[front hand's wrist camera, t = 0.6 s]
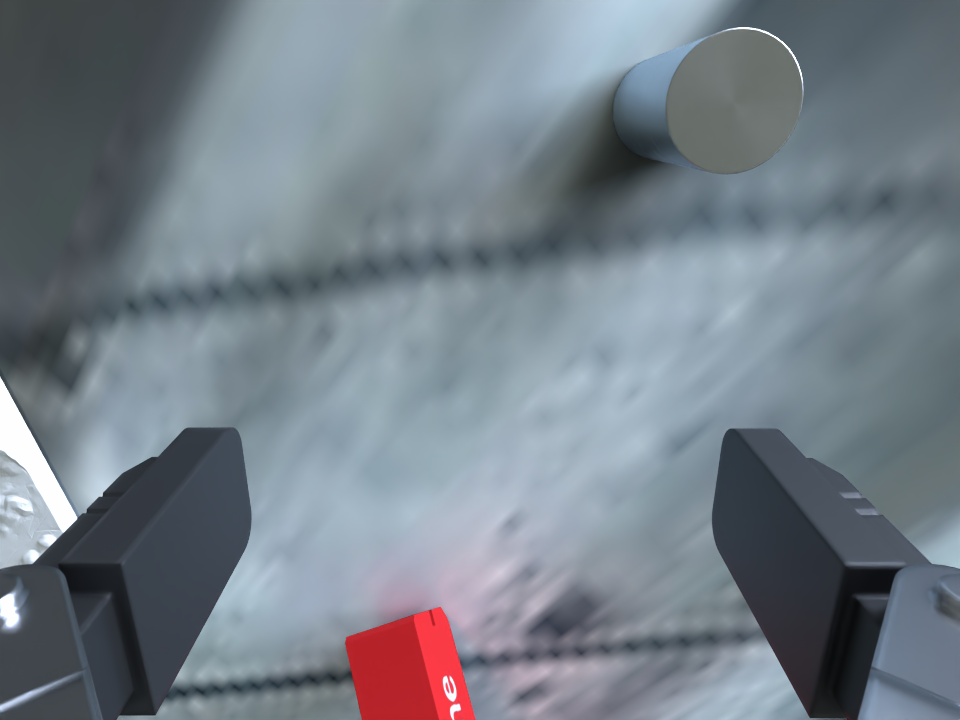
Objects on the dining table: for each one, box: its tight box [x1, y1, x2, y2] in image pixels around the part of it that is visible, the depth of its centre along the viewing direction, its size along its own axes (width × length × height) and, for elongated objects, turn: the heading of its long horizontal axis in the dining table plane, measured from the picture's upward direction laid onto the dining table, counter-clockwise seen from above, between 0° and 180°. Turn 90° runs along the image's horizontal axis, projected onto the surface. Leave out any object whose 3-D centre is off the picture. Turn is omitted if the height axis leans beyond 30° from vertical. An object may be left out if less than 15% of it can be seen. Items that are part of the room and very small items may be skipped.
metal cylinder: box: [613, 27, 804, 174], centre depth 26 cm, size 5×5×10 cm
